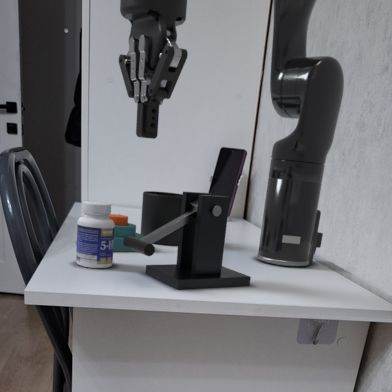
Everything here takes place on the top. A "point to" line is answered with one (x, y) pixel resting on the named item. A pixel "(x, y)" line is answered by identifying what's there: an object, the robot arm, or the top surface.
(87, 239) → the pill bottle
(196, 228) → the bracket
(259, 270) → the top surface
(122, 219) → the button
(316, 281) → the top surface
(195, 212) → the lever
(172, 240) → the mug
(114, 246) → the button box
